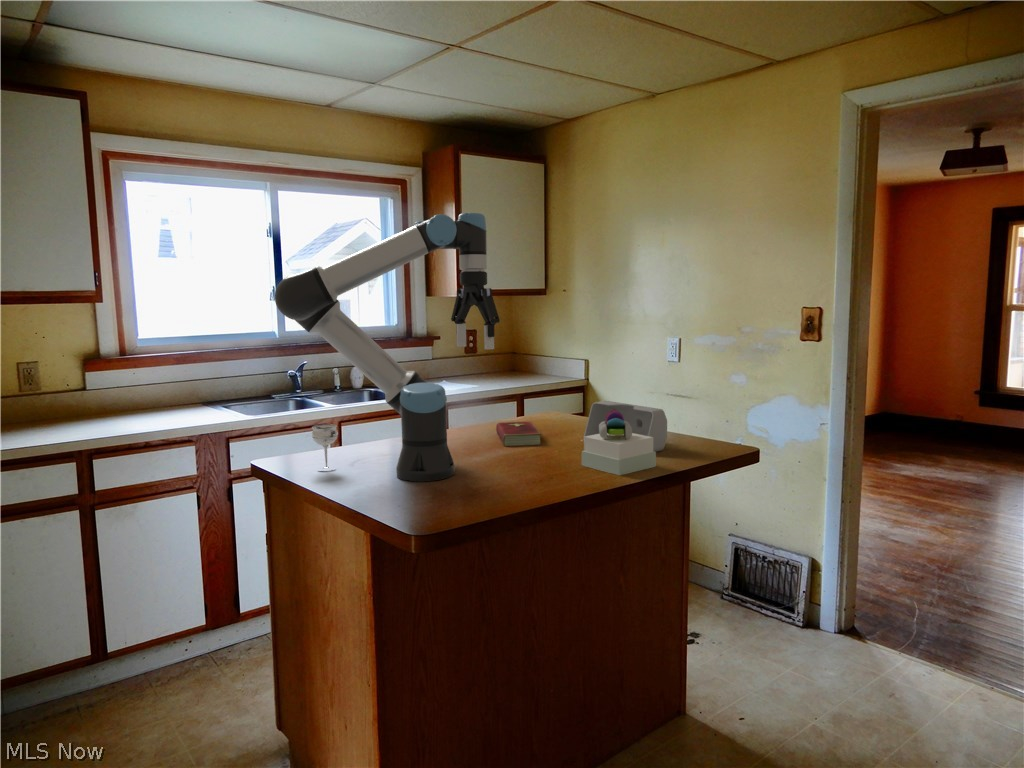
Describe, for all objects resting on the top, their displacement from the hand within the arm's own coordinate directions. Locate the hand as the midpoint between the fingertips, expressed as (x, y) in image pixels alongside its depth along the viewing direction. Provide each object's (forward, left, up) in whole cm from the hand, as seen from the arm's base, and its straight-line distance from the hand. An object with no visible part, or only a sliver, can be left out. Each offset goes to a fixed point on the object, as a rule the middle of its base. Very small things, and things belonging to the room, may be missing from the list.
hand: (475, 348), depth 194 cm
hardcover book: (+26, +15, -32) cm, 44 cm away
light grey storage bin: (+46, -16, -32) cm, 58 cm away
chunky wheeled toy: (+23, -32, -24) cm, 46 cm away
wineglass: (-38, +17, -32) cm, 53 cm away
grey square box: (+24, -32, -32) cm, 51 cm away
